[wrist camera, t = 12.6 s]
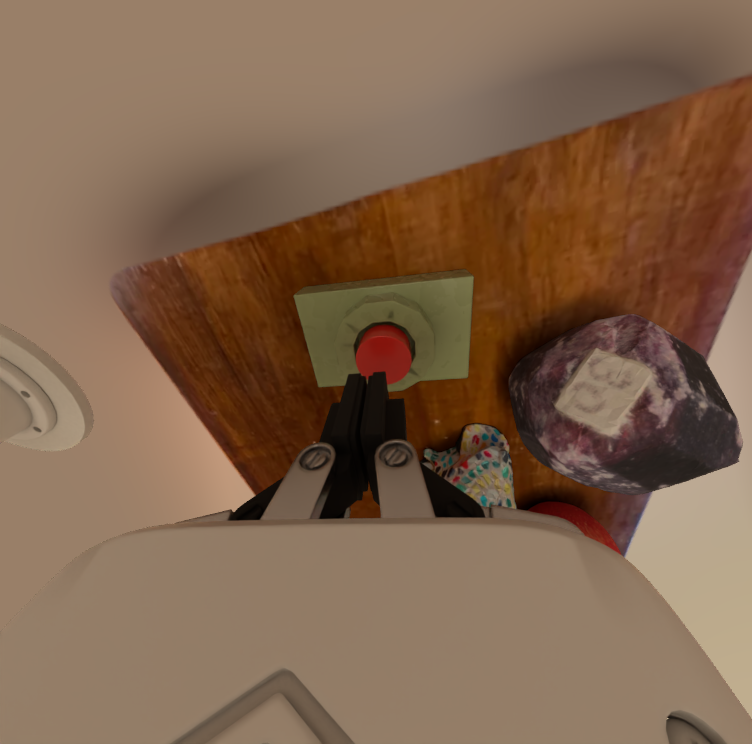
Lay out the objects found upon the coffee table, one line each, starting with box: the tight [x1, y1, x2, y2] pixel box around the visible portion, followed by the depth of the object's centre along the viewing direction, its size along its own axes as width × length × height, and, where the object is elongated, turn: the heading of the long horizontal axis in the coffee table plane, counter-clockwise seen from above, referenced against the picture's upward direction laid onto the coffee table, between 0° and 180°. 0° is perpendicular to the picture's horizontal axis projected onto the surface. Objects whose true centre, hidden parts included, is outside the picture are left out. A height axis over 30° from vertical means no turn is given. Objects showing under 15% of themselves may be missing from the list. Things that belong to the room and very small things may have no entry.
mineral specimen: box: [508, 314, 743, 495], centre depth 17 cm, size 10×10×10 cm
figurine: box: [421, 424, 516, 509], centre depth 20 cm, size 9×9×15 cm
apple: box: [528, 502, 621, 555], centre depth 25 cm, size 8×8×10 cm
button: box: [356, 324, 412, 385], centre depth 16 cm, size 3×3×2 cm
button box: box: [294, 269, 474, 392], centre depth 18 cm, size 11×7×4 cm, turn 97°
